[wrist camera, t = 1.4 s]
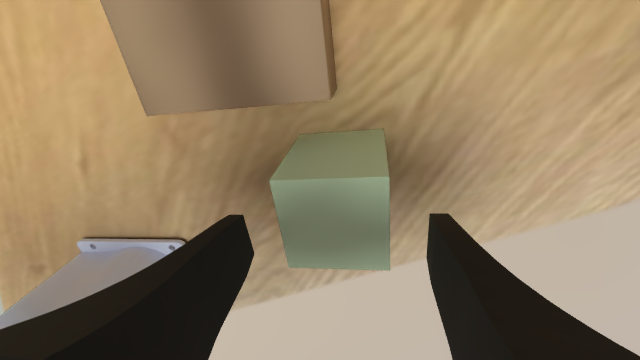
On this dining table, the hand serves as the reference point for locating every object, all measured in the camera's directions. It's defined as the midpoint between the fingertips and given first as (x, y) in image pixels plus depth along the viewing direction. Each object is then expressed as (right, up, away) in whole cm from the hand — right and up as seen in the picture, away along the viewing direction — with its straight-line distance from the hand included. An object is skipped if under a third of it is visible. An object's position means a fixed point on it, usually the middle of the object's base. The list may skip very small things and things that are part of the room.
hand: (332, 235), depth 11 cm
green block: (+1, +3, +5) cm, 6 cm away
